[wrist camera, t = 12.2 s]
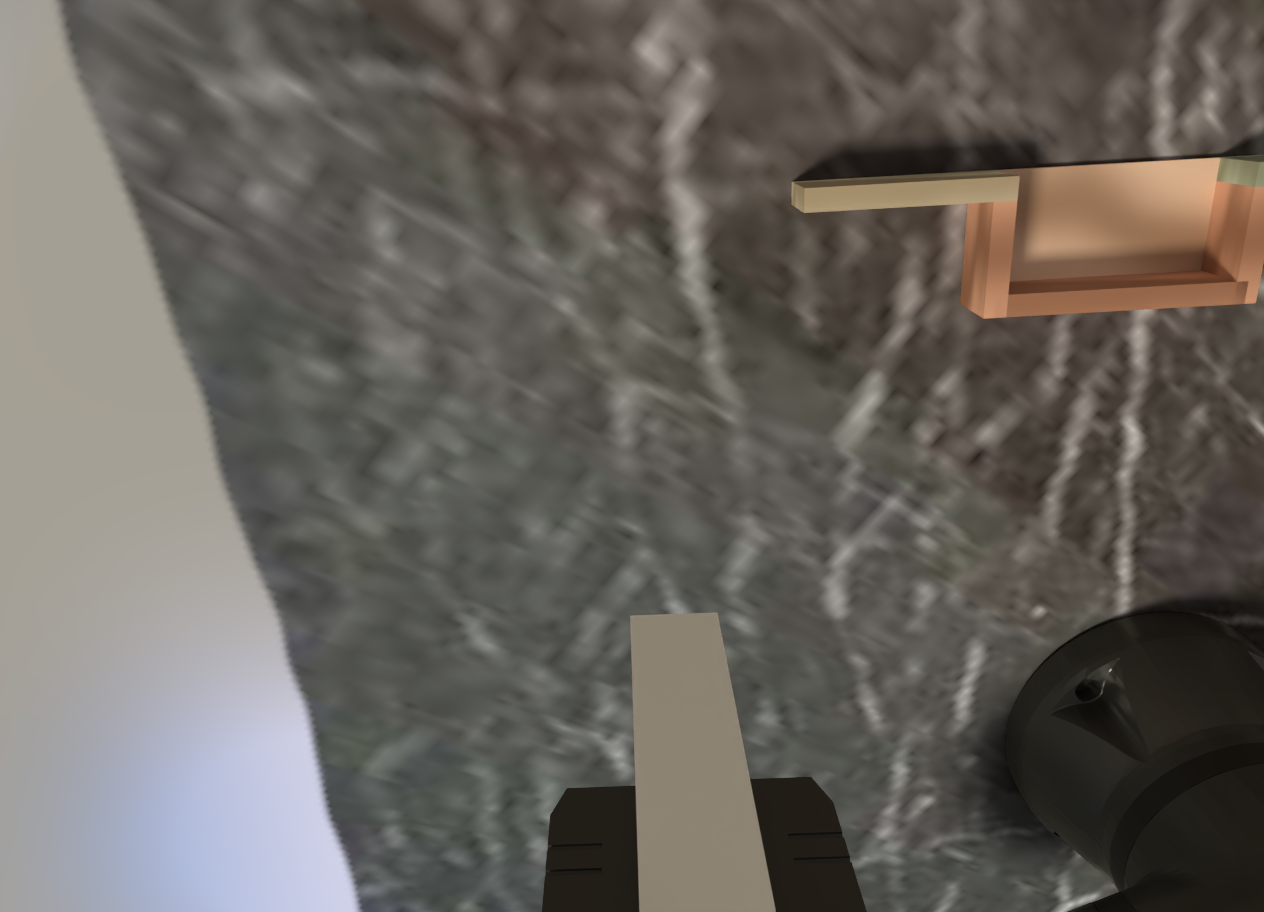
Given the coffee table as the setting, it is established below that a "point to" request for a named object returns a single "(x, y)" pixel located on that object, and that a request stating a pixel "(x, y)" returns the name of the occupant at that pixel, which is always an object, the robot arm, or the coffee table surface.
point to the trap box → (1088, 231)
